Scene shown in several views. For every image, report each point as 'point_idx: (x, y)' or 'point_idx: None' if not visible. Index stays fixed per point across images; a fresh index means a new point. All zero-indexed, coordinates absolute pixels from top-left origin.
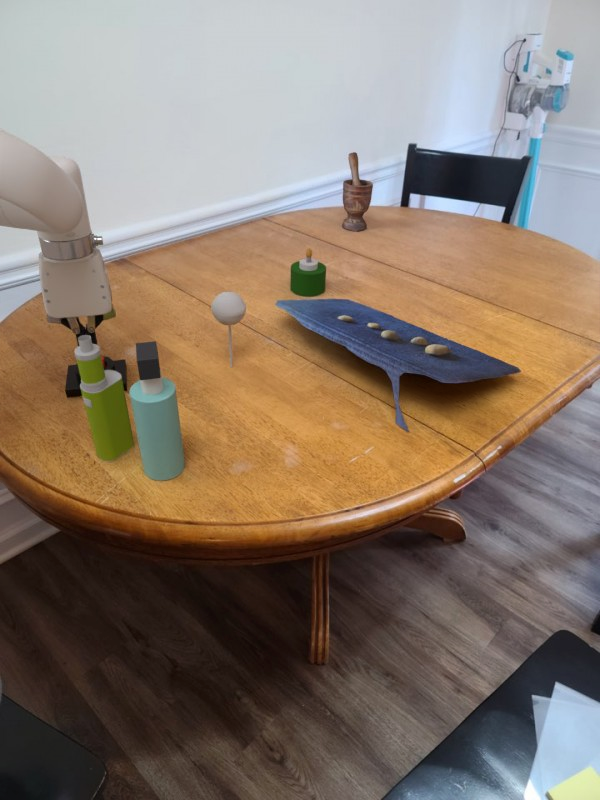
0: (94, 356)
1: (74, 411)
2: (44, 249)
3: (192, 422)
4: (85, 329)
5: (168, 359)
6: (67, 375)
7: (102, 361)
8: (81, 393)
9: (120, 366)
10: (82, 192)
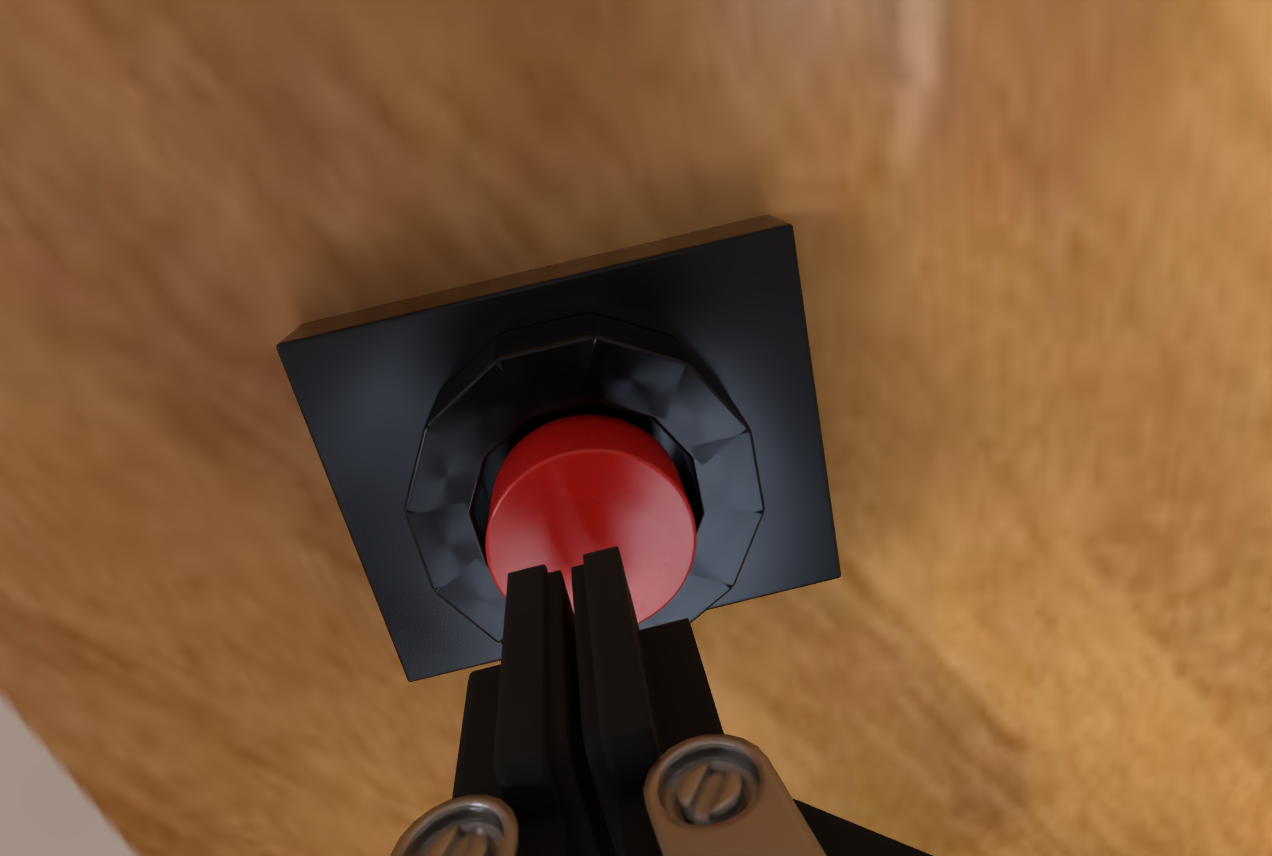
0: None
1: None
2: None
3: (1194, 784)
4: (564, 710)
5: (1124, 76)
6: (344, 504)
7: (690, 567)
8: None
9: (767, 353)
10: None
